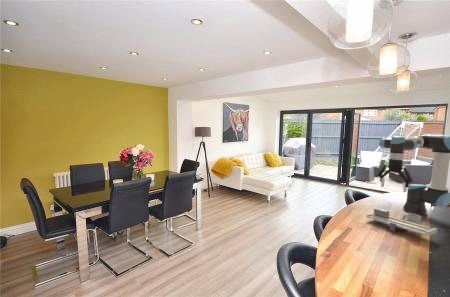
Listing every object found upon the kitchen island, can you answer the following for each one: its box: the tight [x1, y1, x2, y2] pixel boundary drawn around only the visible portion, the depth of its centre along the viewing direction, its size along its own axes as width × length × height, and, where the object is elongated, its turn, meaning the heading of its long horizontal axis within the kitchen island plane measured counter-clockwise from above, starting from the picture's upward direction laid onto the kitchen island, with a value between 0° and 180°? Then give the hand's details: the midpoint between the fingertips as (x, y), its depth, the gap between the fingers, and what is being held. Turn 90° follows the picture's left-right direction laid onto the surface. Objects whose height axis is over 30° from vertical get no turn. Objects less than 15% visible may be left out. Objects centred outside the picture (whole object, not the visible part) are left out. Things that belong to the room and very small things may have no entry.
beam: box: [366, 211, 438, 237], centre depth 153 cm, size 12×36×2 cm, turn 27°
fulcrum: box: [389, 218, 407, 234], centre depth 153 cm, size 15×3×6 cm, turn 117°
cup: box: [401, 212, 422, 225], centre depth 158 cm, size 7×10×9 cm
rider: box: [373, 207, 390, 219], centre depth 162 cm, size 4×8×6 cm, turn 27°
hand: (393, 189), depth 156 cm, fingers open, 13 cm apart
